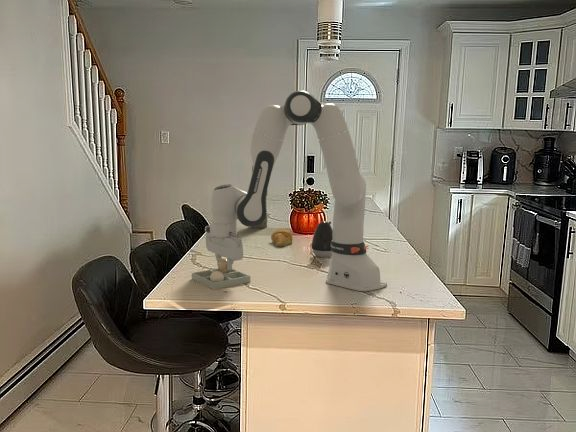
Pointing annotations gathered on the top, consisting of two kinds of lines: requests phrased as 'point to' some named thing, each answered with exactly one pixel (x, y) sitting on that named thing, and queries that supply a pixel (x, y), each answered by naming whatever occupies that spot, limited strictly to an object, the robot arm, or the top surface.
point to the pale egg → (216, 276)
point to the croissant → (282, 237)
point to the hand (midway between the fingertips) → (224, 267)
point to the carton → (230, 279)
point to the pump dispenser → (322, 240)
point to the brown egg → (222, 265)
